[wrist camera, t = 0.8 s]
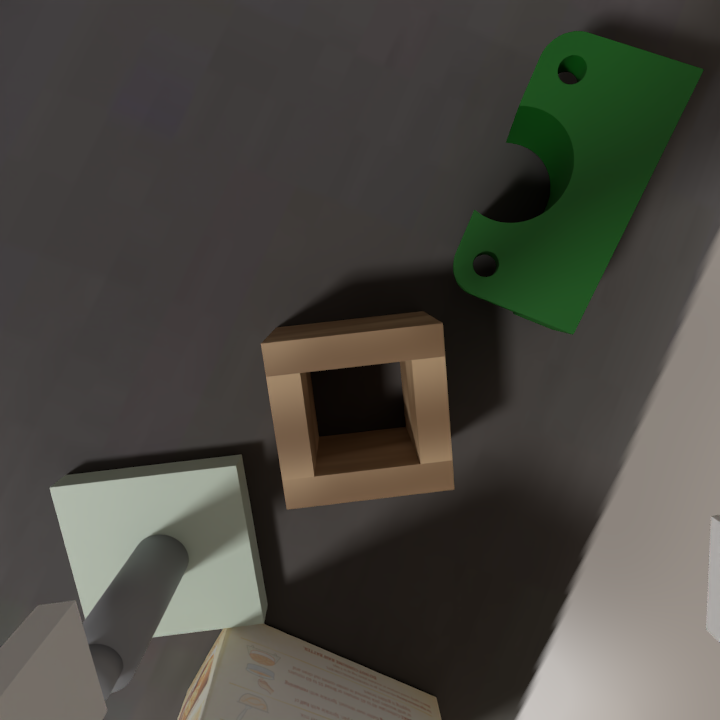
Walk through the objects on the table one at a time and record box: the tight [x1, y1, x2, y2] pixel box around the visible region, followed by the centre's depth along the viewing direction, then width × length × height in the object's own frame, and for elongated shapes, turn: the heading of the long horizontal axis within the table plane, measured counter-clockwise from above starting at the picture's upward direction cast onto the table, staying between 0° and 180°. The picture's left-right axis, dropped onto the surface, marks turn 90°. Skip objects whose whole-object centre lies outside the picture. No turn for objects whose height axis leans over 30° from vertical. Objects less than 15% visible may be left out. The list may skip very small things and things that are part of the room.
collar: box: [261, 311, 454, 510], centre depth 24 cm, size 8×8×5 cm
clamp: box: [453, 31, 704, 334], centre depth 22 cm, size 12×6×9 cm, turn 152°
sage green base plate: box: [50, 454, 268, 701], centre depth 23 cm, size 10×10×10 cm
